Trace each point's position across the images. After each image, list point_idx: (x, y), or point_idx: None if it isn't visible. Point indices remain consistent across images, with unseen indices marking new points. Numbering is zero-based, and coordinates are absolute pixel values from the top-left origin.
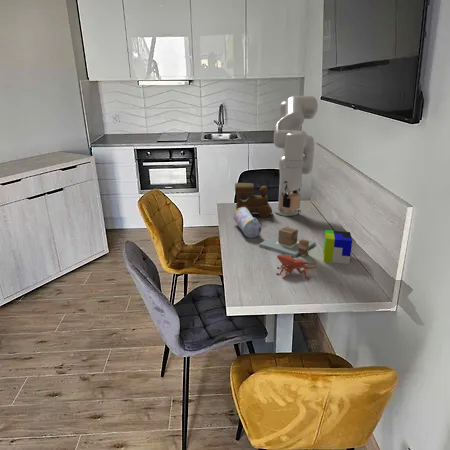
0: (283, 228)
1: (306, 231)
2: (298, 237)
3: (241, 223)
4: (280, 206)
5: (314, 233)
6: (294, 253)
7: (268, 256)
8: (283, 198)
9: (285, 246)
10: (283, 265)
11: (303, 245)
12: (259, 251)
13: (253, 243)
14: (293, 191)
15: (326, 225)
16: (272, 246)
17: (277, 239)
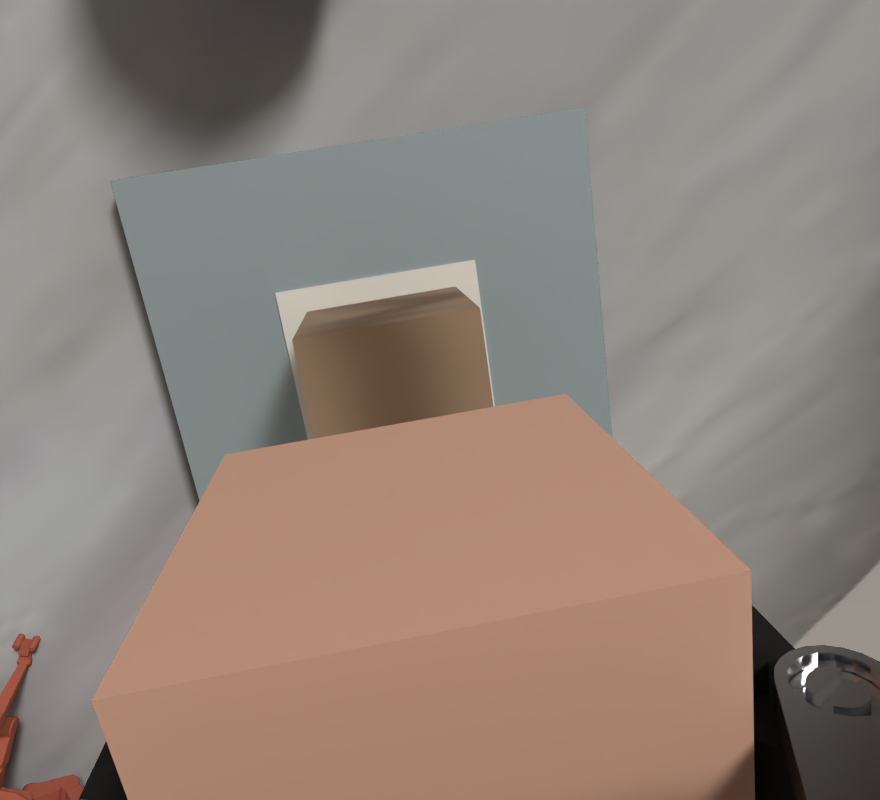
0: (391, 335)
1: (860, 233)
2: (601, 343)
3: None
4: (215, 478)
5: (860, 326)
6: None
7: (29, 435)
8: None
9: (299, 424)
10: (20, 639)
11: None
12: (27, 290)
13: (117, 73)
14: (820, 794)
15: None
16: (183, 338)
17: (379, 233)
